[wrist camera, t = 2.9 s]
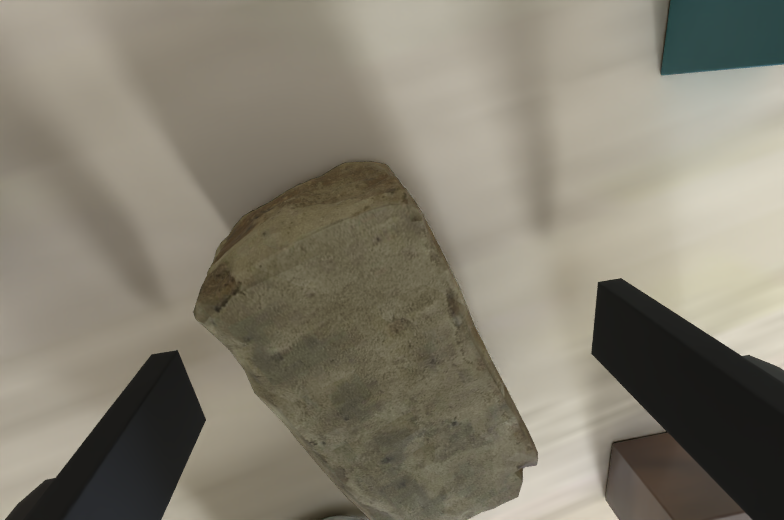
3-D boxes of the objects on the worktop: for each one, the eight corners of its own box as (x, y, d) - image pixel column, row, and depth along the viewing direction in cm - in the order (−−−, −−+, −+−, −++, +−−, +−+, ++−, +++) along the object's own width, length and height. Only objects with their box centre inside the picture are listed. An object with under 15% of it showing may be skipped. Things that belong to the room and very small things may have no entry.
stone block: (384, 445, 17) (400, 573, 12) (217, 224, 13) (143, 292, 8) (504, 385, 16) (567, 495, 12) (374, 134, 12) (393, 152, 7)
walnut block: (604, 499, 20) (663, 588, 16) (612, 442, 19) (678, 526, 15) (676, 484, 20) (750, 568, 17) (689, 427, 19) (774, 505, 15)
